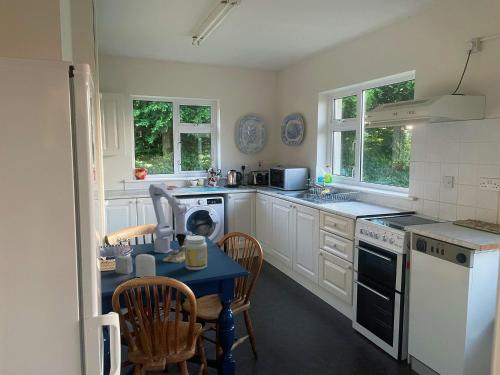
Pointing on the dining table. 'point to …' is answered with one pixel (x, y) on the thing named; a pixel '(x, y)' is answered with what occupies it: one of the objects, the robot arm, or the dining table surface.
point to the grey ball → (181, 248)
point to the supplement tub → (195, 253)
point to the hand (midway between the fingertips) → (181, 246)
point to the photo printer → (145, 265)
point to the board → (176, 257)
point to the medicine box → (123, 264)
